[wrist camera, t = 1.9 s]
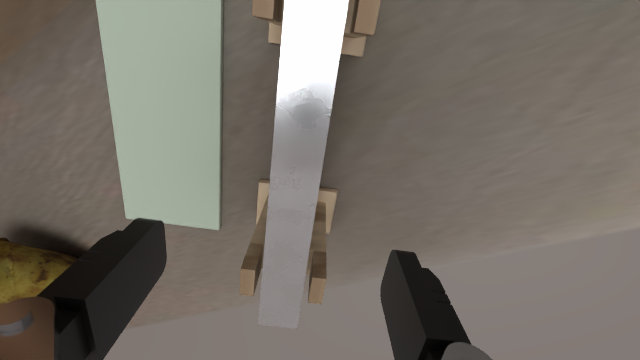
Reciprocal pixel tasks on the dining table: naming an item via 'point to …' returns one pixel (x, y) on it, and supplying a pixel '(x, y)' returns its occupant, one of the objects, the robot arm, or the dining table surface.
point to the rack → (355, 31)
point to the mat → (166, 106)
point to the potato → (28, 269)
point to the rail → (298, 150)
